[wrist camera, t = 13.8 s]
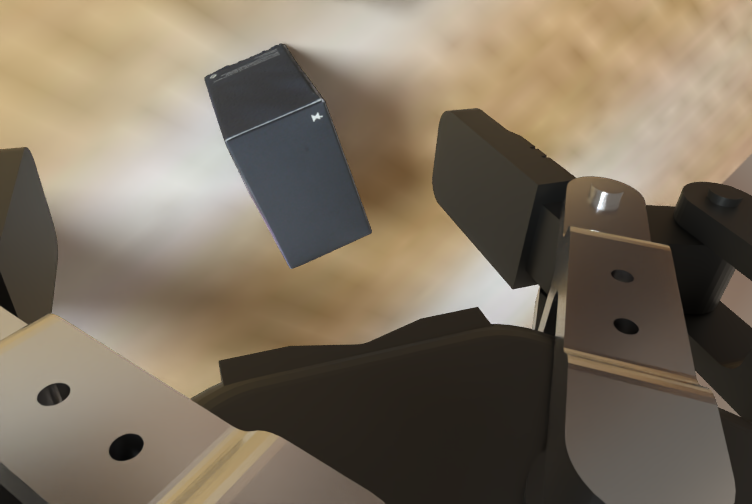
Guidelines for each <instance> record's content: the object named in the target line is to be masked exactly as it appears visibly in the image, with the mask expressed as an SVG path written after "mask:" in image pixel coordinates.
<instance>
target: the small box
mask: <svg viewBox="0 0 752 504" xmlns="http://www.w3.org/2000/svg"><path fill="white" fill-rule="evenodd" d="M205 83H206V86H207V89H208V92H209V96H210V99H211V102H212V105H213V108H214V111H215V114H216V117H217V120H218V123H219V126H220V129H221V132H222V135H223V138H224V141H225V144H226V146H227V148H228V150H229V153H230V155H231V157H232V159H233V161H234V163H235V165H236V167H237V169H238V171H239V173H240V175H241V177H242V180H243V182H244V184H245V186H246V188H247V190H248V192H249V194H250V196H251V198H252V200H253V201H254V203H255V205H256V207H257V209H258V211H259V212H260V214H261V216H262V218H263V220H264V222H265V224H266V226H267V227H268V229H269V231H270V233H271V235H272V237H273V239H274V240H275V242H276V244H277V246H278V248H279V250H280V251H281V253H282V255H283V257H284V258H285V260H286V262H287V264H288V266H289V267H290V268H291V269H293V268H295V267H298V266H300V265H303V264H305V263H307V262H309V261H312V260H314V259H316V258H318V257H321V256H323V255H325V254H327V253H330V252H332V251H334V250H336V249H338V248H340V247H343V246H345V245H347V244H349V243H351V242H354V241H356V240H358V239H360V238H362V237H364V236H367V235H369V234H371V233H372V230H371V227H370V224H369V221H368V219H367V216H366V213H365V210H364V207H363V205H362V202H361V199H360V196H359V194H358V191H357V188H356V185H355V182H354V180H353V177H352V174H351V171H350V169H349V166H348V163H347V160H346V158H345V155H344V152H343V150H342V147H341V144H340V141H339V138H338V135H337V133H336V130H335V127H334V124H333V122H332V119H331V117H330V114H329V111H328V108H327V105H326V102H325V100H324V99H323V98H322V96H321V95H320V93H319V92H318V91H317V90H316V88H315V87H314V85H313V84H312V83H311V81H310V80H309V78H308V77H307V76H306V74H305V73H304V72H303V71H302V69H301V68H300V66H299V65H298V64H297V62H296V61H295V59H294V58H293V56H292V55H291V53H290V51H289V50H288V48H287V47H286V45H284V44H279V45H276V46H274V47H272V48H271V49H269V50H267V51H263V52H262V53H260V54H257V55H255V56H253V57H250V58H248V59H245V60H243V61H239V62H238V63H236V64H233V65H231V66H225V67H224V68H222V69H219V70H218V71H216V72H214V73H212V74H210V75H207V76H206V77H205Z"/></svg>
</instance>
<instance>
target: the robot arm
mask: <svg viewBox="0 0 752 504" xmlns="http://www.w3.org/2000/svg"><path fill="white" fill-rule="evenodd" d="M432 184H433V191H434V195H435V198H436V200H437V202H438V204H439V205H440V206H441V207H442V208H443V209H444V211H445V212H446V213H447V214H448V215H449V216H450V218H451V219H452V220H453V221H454V222H455V223H456V224H457V226H458V227H459V228H460V229H461V230H462V231H463V233H464V234H465V235H466V236H467V237H468V238H469V239H470V241H471V242H472V243H473V244H474V245H475V246H476V248H477V249H478V250H479V251H480V252H481V253H482V254H483V256H484V257H485V258H486V259H487V260H488V261H489V263H490V264H491V265H492V266H493V267H494V268H495V269H496V271H497V272H498V273H499V274H500V275H501V276H502V278H503V279H504V280H505V281H506V282H507V283H508V284H509V286H510V287H511V288H512V289H517V288H522V287H527V286H532V285H537V284H538V285H539V286H540V287H539V290H538V294H537V298H536V301H535V309H534V316H533V324H532V329H529V328H525V327H519V326H512V325H502V324H490V322H489V321H488V320H487V318H486V317H485V316H484V314H483V313H482V312H481V310H480V309H479V308H478V307H475V308H470V309H465V310H460V311H456V312H451V313H446V314H441V315H436V316H432V317H427V318H422V319H419V320H417V321H415V322H413V323H410V324H408V325H406V326H404V327H401V328H399V329H397V330H395V331H392V332H390V333H388V334H386V335H384V336H381V337H379V338H377V339H375V340H372V341H370V342H368V343H364V344H357V345H316V346H288V347H283V348H278V349H273V350H269V351H264V352H259V353H254V354H249V355H245V356H240V357H235V358H230V359H225V360H221V361H219V367H220V374H221V383H219V384H217V385H214V386H212V387H210V388H208V389H207V390H205V391H203V392H201V393H199V394H198V395H196V396H194V397H193V398H191V399H189V398H187V397H186V396H184V395H183V394H181V393H179V392H178V391H176V390H175V389H173V388H172V387H170V386H168V385H167V384H165V383H164V382H162V381H160V380H159V379H157V378H156V377H154V376H153V375H151V374H149V373H148V372H146V371H145V370H143V369H142V368H140V367H138V366H137V365H135V364H134V363H132V362H131V361H129V360H127V359H126V358H124V357H123V356H121V355H119V354H118V353H116V352H115V351H113V350H112V349H110V348H108V347H107V346H105V345H104V344H102V343H101V342H99V341H97V340H96V339H94V338H93V337H91V336H90V335H88V334H86V333H85V332H83V331H82V330H80V329H78V328H77V327H75V326H74V325H72V324H71V323H69V322H67V321H66V320H64V319H63V318H61V317H59V316H57V315H54V314H51V312H52V304H53V295H54V287H55V278H56V270H57V261H58V245H57V238H56V233H55V228H54V224H53V221H52V217H51V214H50V211H49V208H48V204H47V201H46V198H45V195H44V191H43V188H42V185H41V181H40V178H39V175H38V172H37V168H36V165H35V162H34V159H33V156H32V154H31V152H30V150H29V149H28V148H27V147H22V148H11V149H0V504H752V328H751V327H750V326H749V325H748V324H747V323H745V322H744V321H743V320H742V319H741V318H739V317H738V316H737V315H736V314H735V313H734V312H732V311H731V310H730V309H729V308H728V307H726V306H725V305H724V304H723V303H722V302H721V301H720V299H721V297H722V295H723V293H724V291H725V289H726V287H727V285H728V283H729V281H730V279H731V277H732V275H733V273H734V271H735V269H737V270H738V271H739V272H741V273H742V274H743V275H745V276H746V277H747V278H749V279H750V280H751V281H752V196H751V195H749V194H747V193H745V192H743V191H741V190H738V189H736V188H734V187H731V186H727V185H723V184H718V183H711V182H694V183H690V184H687V185H686V186H684V188H683V190H682V192H681V195H680V197H679V199H678V202H677V204H676V207H673V206H652V205H646V204H645V200H644V197H643V196H642V195H641V194H640V193H639V192H638V191H637V190H635V189H634V188H632V187H631V186H629V185H627V184H624V183H622V182H619V181H616V180H613V179H608V178H603V177H594V176H586V177H579V178H576V177H574V176H573V175H572V174H570V173H569V172H568V171H567V170H565V169H564V168H563V167H561V166H560V165H559V164H557V163H556V162H555V161H553V160H552V159H551V158H547V157H546V155H545V154H544V153H543V152H541V151H540V150H539V149H535V146H534V145H532V144H531V143H530V142H528V141H527V140H526V139H524V138H523V137H522V136H520V135H517V134H515V133H513V132H510V131H508V130H506V129H505V128H504V127H503V126H501V125H500V124H499V123H497V122H496V121H495V120H493V119H492V118H491V117H490V116H488V115H487V114H486V113H484V112H483V111H482V110H480V109H478V108H475V109H463V110H452V111H446V112H444V113H443V114H442V116H441V119H440V122H439V128H438V136H437V144H436V152H435V160H434V168H433V177H432ZM695 371H697V373H698V374H699V375H700V376H701V377H702V378H703V379H704V380H705V381H706V382H707V383H708V384H709V385H710V386H711V387H712V388H713V389H714V390H715V391H716V392H717V393H718V394H719V395H720V396H721V397H722V398H723V399H724V400H725V401H726V402H727V403H728V404H729V405H730V406H731V407H732V408H733V409H734V410H735V411H736V412H737V413H738V414H739V415H740V416H741V417H739V416H737V415H735V414H732V413H730V412H728V411H725V410H723V409H721V408H719V407H718V405H717V402H716V399H715V396H714V394H713V393H712V391H711V390H710V389H709V388H707V387H703V386H701V385H700V384H699V383H698V381H697V378H696V373H695Z"/></svg>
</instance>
